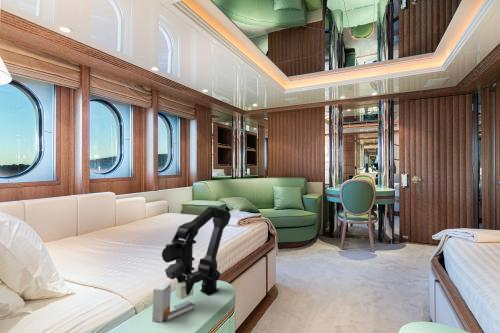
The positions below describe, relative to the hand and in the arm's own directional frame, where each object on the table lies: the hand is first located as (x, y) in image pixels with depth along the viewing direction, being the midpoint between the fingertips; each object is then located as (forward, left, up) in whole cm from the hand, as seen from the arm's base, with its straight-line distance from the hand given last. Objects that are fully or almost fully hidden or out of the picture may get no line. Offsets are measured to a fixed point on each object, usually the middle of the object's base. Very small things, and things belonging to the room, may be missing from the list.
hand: (184, 292), depth 108 cm
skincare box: (+11, +1, -6) cm, 12 cm away
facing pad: (0, 0, -5) cm, 5 cm away
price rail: (+5, +5, -5) cm, 9 cm away
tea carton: (0, 0, -1) cm, 1 cm away
